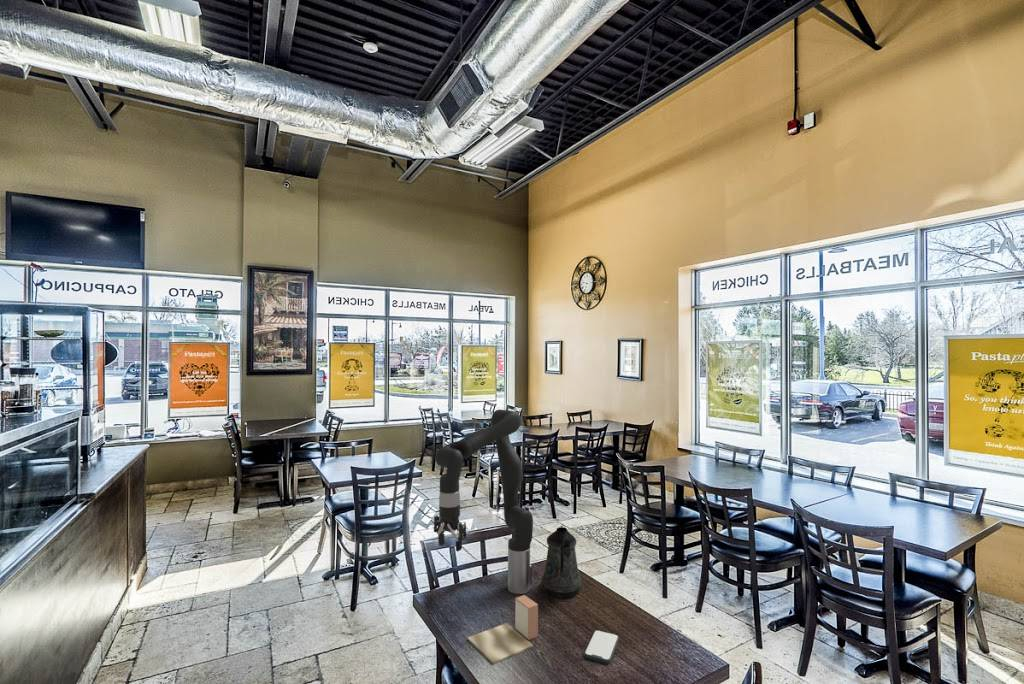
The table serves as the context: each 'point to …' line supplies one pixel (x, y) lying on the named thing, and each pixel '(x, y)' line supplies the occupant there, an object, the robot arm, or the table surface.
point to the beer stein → (561, 565)
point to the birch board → (500, 643)
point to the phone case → (601, 647)
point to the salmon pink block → (526, 617)
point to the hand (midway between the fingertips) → (449, 547)
